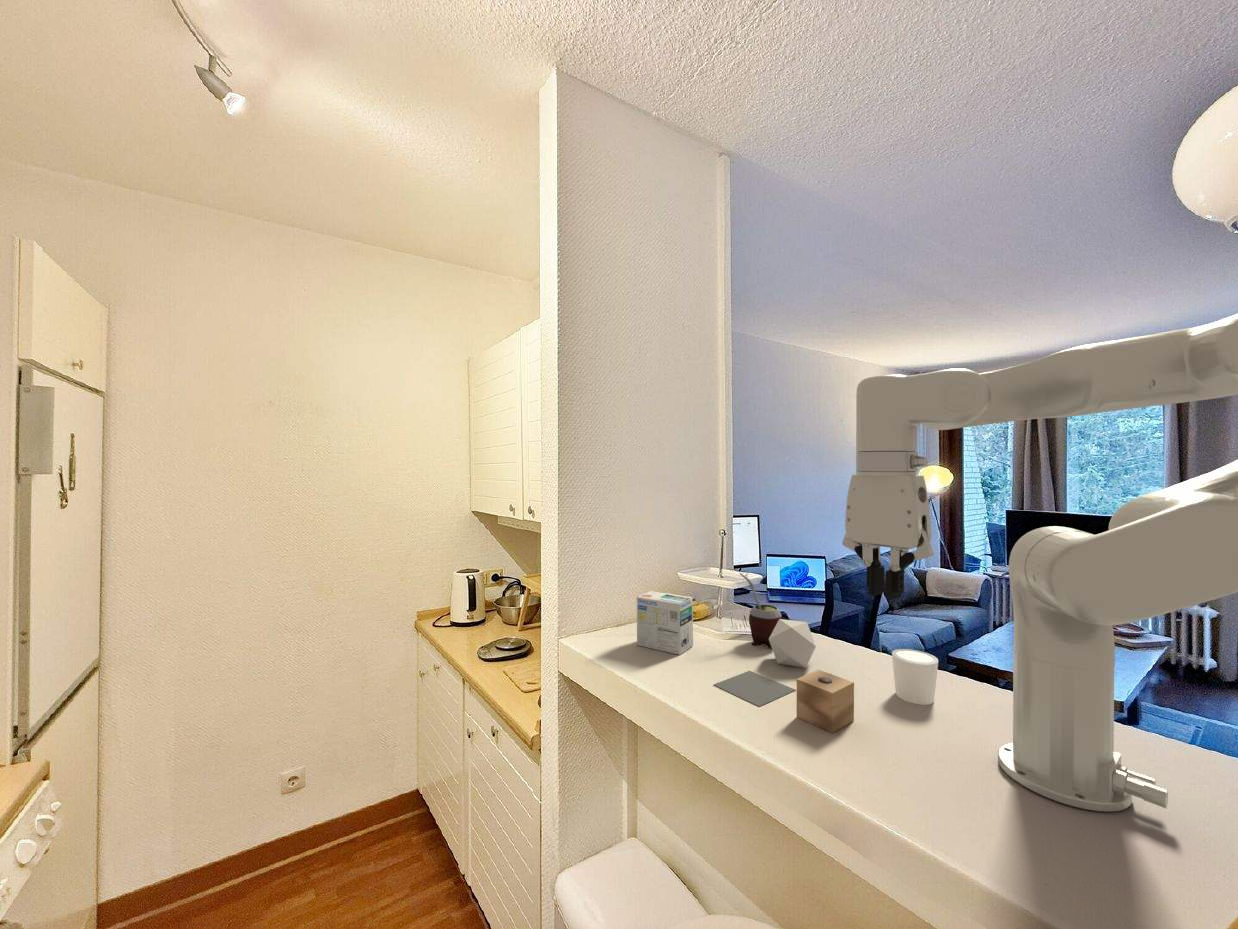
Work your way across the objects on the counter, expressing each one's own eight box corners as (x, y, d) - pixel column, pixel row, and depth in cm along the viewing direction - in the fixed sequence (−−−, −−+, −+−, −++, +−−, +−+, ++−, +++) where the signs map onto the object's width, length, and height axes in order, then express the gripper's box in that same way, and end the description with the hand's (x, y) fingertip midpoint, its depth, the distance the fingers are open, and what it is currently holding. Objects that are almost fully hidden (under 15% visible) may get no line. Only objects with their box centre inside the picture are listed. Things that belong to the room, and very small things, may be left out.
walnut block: (853, 721, 78) (854, 681, 78) (832, 734, 74) (832, 692, 74) (818, 706, 83) (818, 668, 83) (796, 717, 79) (796, 678, 79)
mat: (795, 690, 88) (795, 689, 88) (759, 707, 82) (759, 706, 82) (749, 671, 96) (749, 670, 96) (713, 685, 90) (713, 684, 90)
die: (819, 662, 102) (793, 615, 107) (832, 655, 94) (803, 605, 99) (781, 679, 101) (757, 631, 106) (791, 674, 94) (764, 622, 98)
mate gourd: (788, 648, 108) (789, 578, 108) (755, 651, 106) (755, 580, 106) (770, 636, 115) (770, 570, 115) (738, 639, 113) (738, 572, 113)
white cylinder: (943, 709, 82) (943, 666, 81) (895, 703, 84) (895, 660, 84) (932, 691, 88) (932, 651, 88) (888, 685, 90) (888, 646, 90)
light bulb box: (694, 646, 110) (694, 596, 109) (680, 656, 104) (680, 603, 104) (650, 636, 115) (650, 589, 115) (635, 646, 109) (635, 596, 109)
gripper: (960, 465, 67) (959, 604, 67) (845, 464, 80) (845, 581, 80) (936, 465, 62) (935, 614, 63) (819, 464, 75) (818, 588, 75)
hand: (884, 595), depth 71 cm, fingers closed
